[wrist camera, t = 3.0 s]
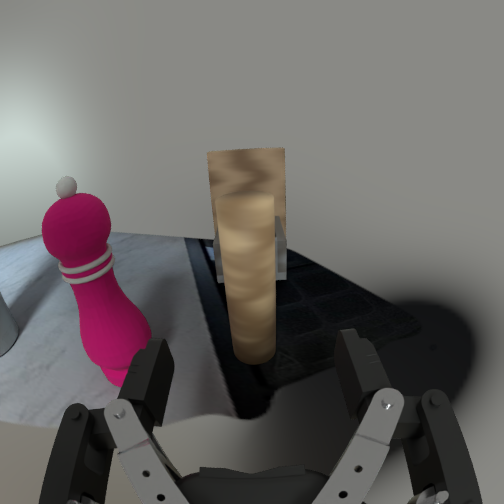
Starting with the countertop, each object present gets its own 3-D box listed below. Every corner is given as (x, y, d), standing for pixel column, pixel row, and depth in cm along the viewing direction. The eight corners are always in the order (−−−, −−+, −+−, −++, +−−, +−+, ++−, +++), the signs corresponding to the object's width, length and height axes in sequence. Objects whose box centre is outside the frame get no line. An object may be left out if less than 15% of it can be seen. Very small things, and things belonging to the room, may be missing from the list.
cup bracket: (213, 309, 34) (194, 163, 26) (220, 268, 43) (208, 151, 35) (293, 305, 34) (295, 157, 26) (284, 264, 43) (283, 147, 35)
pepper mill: (91, 383, 22) (7, 198, 13) (117, 339, 29) (63, 172, 20) (149, 398, 22) (64, 183, 13) (170, 347, 28) (124, 159, 19)
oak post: (233, 365, 26) (211, 209, 18) (234, 335, 30) (218, 192, 22) (277, 363, 26) (276, 205, 18) (274, 333, 30) (271, 189, 22)
